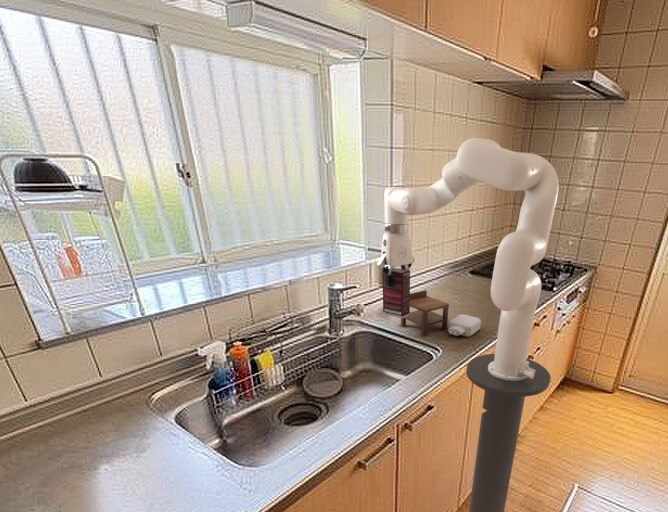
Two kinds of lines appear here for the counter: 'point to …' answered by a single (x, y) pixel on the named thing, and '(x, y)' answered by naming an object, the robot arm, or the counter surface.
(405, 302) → the supplement box
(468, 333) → the charger
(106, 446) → the counter surface
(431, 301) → the shelf rack
